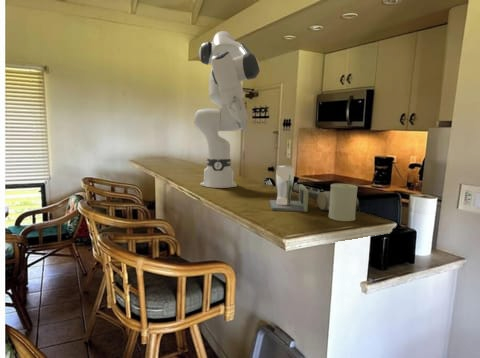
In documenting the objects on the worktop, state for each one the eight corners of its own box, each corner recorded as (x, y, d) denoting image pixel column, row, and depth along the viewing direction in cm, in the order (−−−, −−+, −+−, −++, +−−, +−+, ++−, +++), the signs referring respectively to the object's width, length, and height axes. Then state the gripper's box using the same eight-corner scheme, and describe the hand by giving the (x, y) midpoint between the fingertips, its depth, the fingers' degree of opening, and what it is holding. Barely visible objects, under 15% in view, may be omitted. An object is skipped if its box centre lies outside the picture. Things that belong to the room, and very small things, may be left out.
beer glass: (276, 201, 142) (278, 164, 139) (293, 203, 140) (295, 165, 137) (272, 204, 135) (274, 166, 133) (290, 206, 133) (293, 167, 131)
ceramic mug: (314, 208, 136) (316, 189, 135) (332, 207, 139) (334, 188, 138) (330, 215, 126) (332, 194, 125) (349, 214, 129) (351, 194, 128)
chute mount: (269, 202, 144) (270, 183, 143) (301, 203, 144) (302, 184, 143) (272, 210, 131) (272, 189, 129) (307, 211, 130) (308, 190, 129)
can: (333, 221, 118) (335, 186, 116) (324, 214, 127) (327, 181, 125) (359, 221, 119) (362, 186, 117) (349, 214, 128) (352, 182, 126)
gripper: (245, 95, 125) (256, 131, 130) (235, 91, 144) (245, 123, 149) (229, 100, 124) (240, 136, 129) (221, 96, 144) (231, 128, 148)
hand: (243, 129), depth 139 cm, fingers open, 8 cm apart
